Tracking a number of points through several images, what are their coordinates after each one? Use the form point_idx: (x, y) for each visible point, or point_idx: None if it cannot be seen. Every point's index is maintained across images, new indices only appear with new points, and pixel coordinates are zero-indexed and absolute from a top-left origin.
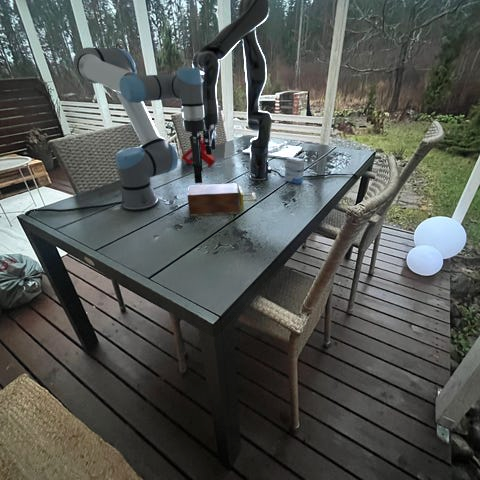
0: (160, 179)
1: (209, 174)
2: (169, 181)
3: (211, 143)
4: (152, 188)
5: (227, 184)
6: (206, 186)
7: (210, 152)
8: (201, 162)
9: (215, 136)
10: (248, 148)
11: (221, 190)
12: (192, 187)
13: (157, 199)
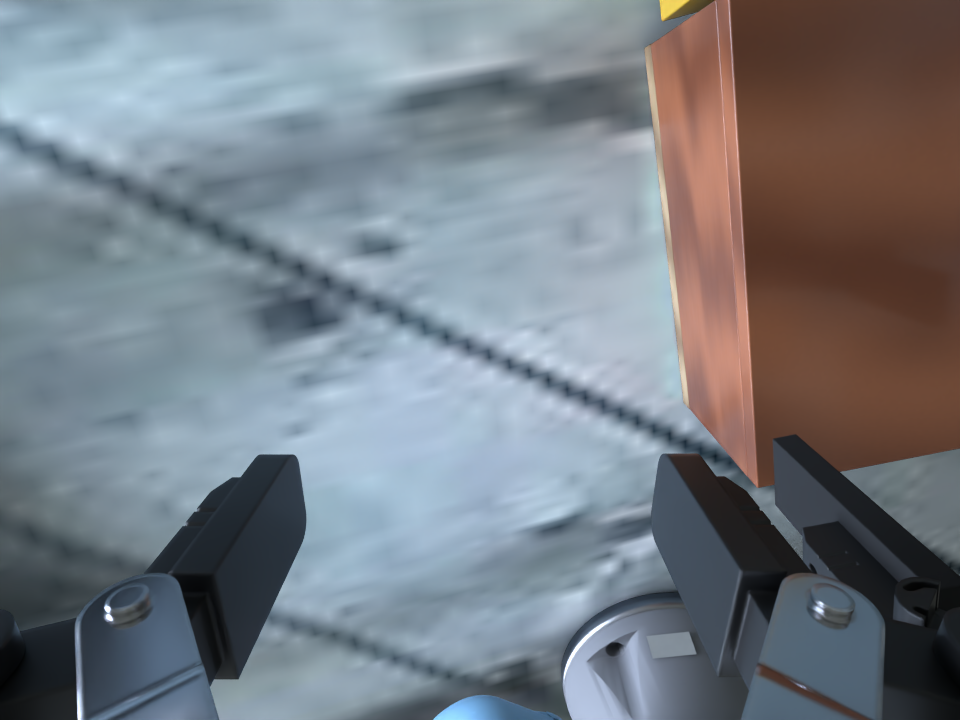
0: (274, 690)
1: (49, 417)
2: (294, 635)
3: (261, 603)
4: (655, 691)
5: (765, 105)
6: (806, 329)
7: (707, 483)
8: (878, 511)
9: (209, 686)
10: None
11: (944, 145)
12: (819, 446)
13: (649, 609)
